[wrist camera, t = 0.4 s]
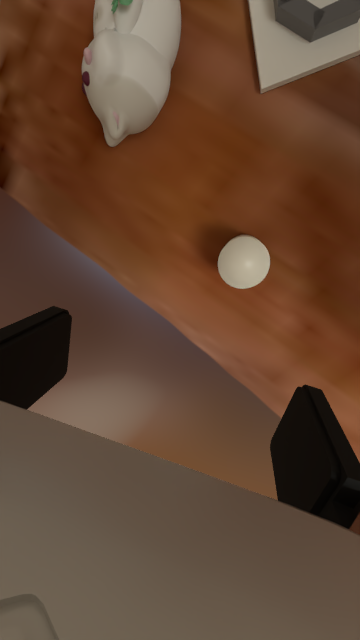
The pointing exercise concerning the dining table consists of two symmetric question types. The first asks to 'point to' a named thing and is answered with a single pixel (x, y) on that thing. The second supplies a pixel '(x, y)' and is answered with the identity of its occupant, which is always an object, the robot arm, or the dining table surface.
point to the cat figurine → (130, 63)
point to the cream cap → (243, 262)
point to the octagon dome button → (302, 37)
